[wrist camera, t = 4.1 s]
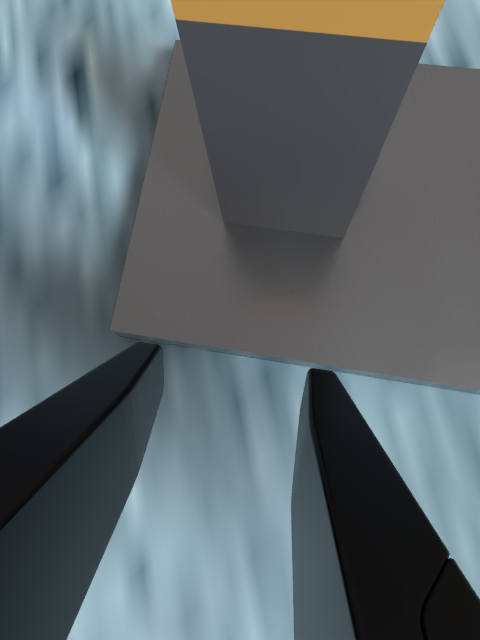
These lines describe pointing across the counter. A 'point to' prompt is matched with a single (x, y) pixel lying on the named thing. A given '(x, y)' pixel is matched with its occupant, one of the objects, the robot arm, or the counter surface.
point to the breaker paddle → (298, 100)
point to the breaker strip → (321, 251)
